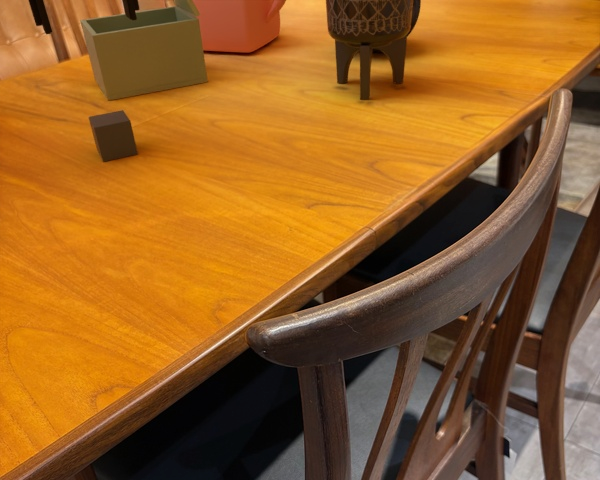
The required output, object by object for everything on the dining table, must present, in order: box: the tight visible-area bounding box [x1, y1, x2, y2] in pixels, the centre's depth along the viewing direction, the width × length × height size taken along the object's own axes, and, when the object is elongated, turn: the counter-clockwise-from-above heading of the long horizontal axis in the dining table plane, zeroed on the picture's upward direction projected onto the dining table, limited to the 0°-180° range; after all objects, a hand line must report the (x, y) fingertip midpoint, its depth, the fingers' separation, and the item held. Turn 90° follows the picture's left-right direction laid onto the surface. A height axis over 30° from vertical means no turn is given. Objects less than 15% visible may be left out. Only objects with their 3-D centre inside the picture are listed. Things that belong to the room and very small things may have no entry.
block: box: [88, 109, 139, 162], centre depth 79 cm, size 4×4×4 cm
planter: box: [325, 0, 413, 101], centre depth 90 cm, size 13×13×18 cm
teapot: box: [190, 0, 287, 53], centre depth 118 cm, size 20×22×14 cm
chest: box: [79, 5, 209, 101], centre depth 101 cm, size 17×13×10 cm
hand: (90, 24), depth 71 cm, fingers open, 9 cm apart
